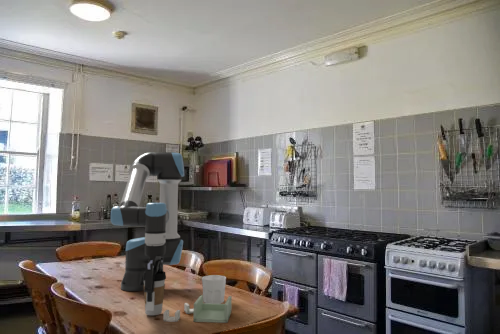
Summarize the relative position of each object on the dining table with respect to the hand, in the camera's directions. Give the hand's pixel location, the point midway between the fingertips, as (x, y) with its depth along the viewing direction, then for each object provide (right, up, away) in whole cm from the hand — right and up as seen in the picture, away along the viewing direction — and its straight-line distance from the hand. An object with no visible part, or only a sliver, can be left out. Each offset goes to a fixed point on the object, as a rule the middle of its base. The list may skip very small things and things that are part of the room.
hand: (153, 306), depth 141 cm
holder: (+22, -3, -1) cm, 22 cm away
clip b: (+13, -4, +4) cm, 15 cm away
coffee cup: (0, -2, 0) cm, 2 cm away
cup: (+20, -5, +18) cm, 28 cm away
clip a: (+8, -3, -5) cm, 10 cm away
